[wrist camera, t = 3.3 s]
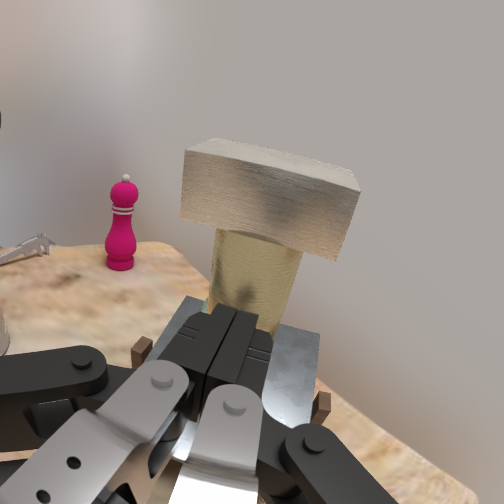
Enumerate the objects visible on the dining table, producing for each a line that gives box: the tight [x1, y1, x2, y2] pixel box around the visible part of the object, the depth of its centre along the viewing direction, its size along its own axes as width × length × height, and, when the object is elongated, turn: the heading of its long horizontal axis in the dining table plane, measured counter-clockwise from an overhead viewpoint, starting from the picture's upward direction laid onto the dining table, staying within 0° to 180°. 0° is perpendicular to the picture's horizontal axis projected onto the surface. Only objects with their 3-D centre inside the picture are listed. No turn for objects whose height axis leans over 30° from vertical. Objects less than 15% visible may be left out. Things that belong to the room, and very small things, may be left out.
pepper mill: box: [105, 174, 138, 271], centre depth 54 cm, size 7×7×20 cm
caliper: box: [0, 231, 49, 264], centre depth 43 cm, size 20×1×6 cm, turn 149°
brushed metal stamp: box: [143, 138, 361, 463], centre depth 19 cm, size 18×16×21 cm
